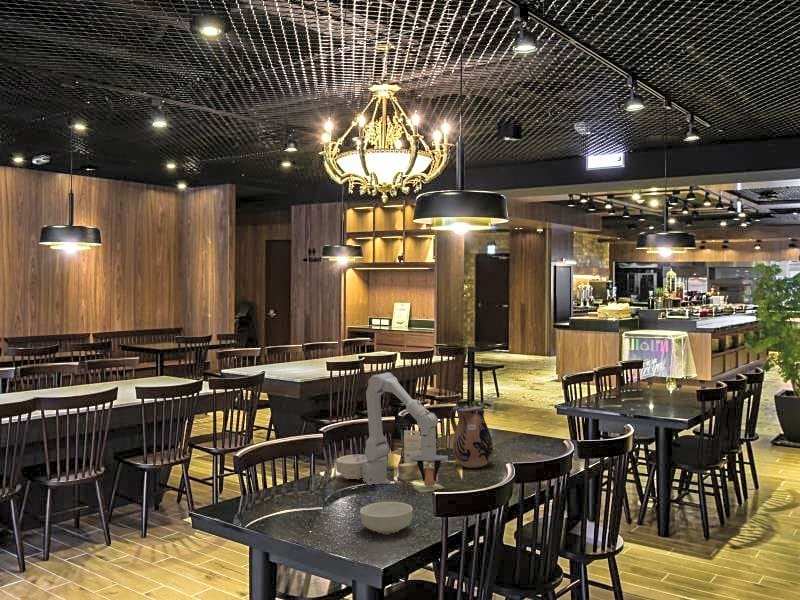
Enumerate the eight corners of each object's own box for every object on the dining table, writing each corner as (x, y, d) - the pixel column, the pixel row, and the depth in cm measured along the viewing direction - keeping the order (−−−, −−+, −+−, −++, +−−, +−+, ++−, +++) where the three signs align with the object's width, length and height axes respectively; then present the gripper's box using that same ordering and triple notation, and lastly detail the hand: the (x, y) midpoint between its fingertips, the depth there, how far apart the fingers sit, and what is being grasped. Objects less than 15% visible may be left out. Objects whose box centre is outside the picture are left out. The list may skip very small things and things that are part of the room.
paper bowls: (329, 480, 293) (329, 461, 293) (347, 471, 307) (347, 453, 307) (362, 483, 287) (362, 463, 287) (379, 474, 301) (379, 455, 300)
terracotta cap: (426, 486, 274) (426, 470, 274) (422, 483, 278) (422, 468, 277) (436, 485, 275) (435, 469, 275) (432, 482, 279) (431, 467, 279)
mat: (421, 492, 272) (421, 491, 272) (413, 488, 278) (413, 486, 278) (444, 489, 275) (444, 487, 275) (436, 484, 282) (436, 483, 282)
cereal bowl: (412, 521, 239) (411, 500, 239) (414, 538, 222) (414, 515, 222) (361, 523, 238) (360, 501, 238) (360, 540, 222) (359, 517, 222)
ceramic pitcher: (480, 472, 298) (478, 413, 298) (438, 466, 311) (436, 409, 311) (501, 464, 312) (499, 406, 312) (460, 458, 325) (458, 403, 325)
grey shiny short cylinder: (430, 484, 283) (430, 469, 282) (426, 482, 286) (426, 467, 286) (439, 483, 284) (439, 468, 284) (435, 481, 288) (435, 466, 288)
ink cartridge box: (426, 462, 319) (425, 429, 319) (421, 464, 315) (420, 431, 315) (409, 460, 323) (408, 428, 323) (404, 463, 319) (403, 430, 319)
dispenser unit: (401, 481, 288) (401, 466, 288) (396, 478, 293) (396, 464, 293) (430, 477, 293) (430, 463, 293) (425, 474, 298) (425, 460, 298)
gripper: (447, 442, 280) (447, 477, 280) (409, 443, 280) (410, 477, 281) (447, 446, 273) (448, 482, 273) (409, 447, 273) (410, 482, 273)
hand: (429, 480), depth 276 cm, fingers closed on terracotta cap, 4 cm apart
